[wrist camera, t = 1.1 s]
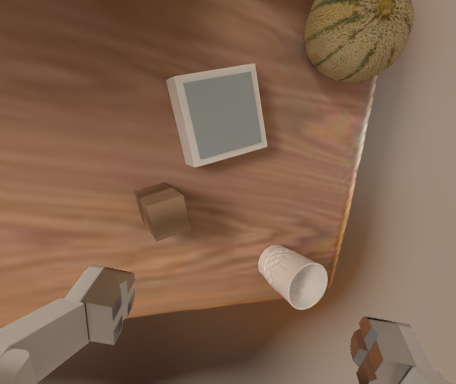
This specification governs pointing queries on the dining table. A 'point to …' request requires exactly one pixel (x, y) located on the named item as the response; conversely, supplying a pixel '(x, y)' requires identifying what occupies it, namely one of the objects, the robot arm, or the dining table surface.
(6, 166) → the dining table surface
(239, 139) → the base tray
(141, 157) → the dining table surface
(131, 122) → the dining table surface
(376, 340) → the robot arm
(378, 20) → the cantaloupe
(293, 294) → the white cup
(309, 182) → the dining table surface
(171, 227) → the walnut block
